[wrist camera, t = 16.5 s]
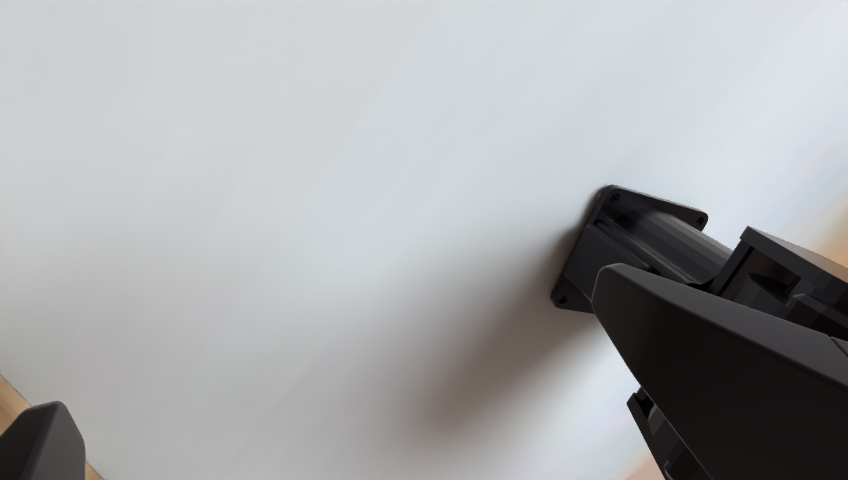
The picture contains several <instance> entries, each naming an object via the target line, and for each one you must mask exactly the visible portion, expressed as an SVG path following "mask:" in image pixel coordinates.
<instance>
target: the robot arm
mask: <svg viewBox="0 0 848 480" xmlns="http://www.w3.org/2000/svg"><path fill="white" fill-rule="evenodd" d="M613 194H615V196H614V197H613V199H611V196H612V195H613ZM610 199H611V200H610ZM707 221H708V215H707V214H706V213H704V212H703V211H701V210H699V209H696V208H692V207H689V206H685V205H682V204H678V203H675V202H672V201H668V200H665V199H661V198H658V197H654V196H651V195H648V194H644V193H641V192H637V191H634V190H630V189H627V188H624V187H620V186H617V185H610V186H607V187H606V188H605V189H604V190H603V191H602V193H601V195H600V197H599V199H598V201H597V203H596V205H595V207H594V209H593V211H592V213H591V215H590V217H589V219H588V221H587V223H586V225H585V227H584V229H583V231H582V233H581V235H580V237H579V239H578V241H577V243H576V245H575V247H574V249H573V251H572V253H571V255H570V257H569V259H568V261H567V263H566V265H565V267H564V269H563V271H562V273H561V275H560V277H559V279H558V281H557V283H556V285H555V287H554V289H553V291H552V293H551V296H550V300H551V302H552V303H553V304H554V305H555V306H556V307H557V308H561V309H567V310H573V311H580V312H586V313H592V314H595V315H596V316H597V318H598V320H599V321H600V323H601V325H602V326H603V328H604V329H605V331H606V333H607V334H608V336H609V337H610V339H611V341H612V342H613V344H614V346H615V347H616V349H617V350H618V352H619V354H620V355H621V357H622V358H623V360H624V362H625V363H626V365H627V366H628V368H629V370H630V371H631V373H632V374H633V376H634V377H635V378H636V380H637V381H638V383H639V384H640V385H641V387H640V388H639V389H638V391H637V392H636V393H633V394H632V396H631V397H630V398H629V400H628V401H627V406H628V408H629V410H630V412H631V414H632V416H633V418H634V420H635V422H636V424H637V425H638V427H639V429H640V431H641V433H642V435H643V437H644V439H645V441H646V443H647V445H648V447H649V449H650V451H651V453H652V455H653V457H654V459H655V461H656V463H657V465H658V466H659V469H660V470H661V472H662V474H663V476H664V478H665V480H848V268H846V267H844V266H842V265H840V264H838V263H836V262H834V261H832V260H830V259H827V258H825V257H823V256H821V255H819V254H817V253H815V252H812V251H810V250H807V249H805V248H802V247H800V246H797V245H795V244H792V243H790V242H787V241H785V240H782V239H780V238H777V237H775V236H772V235H770V234H767V233H765V232H762V231H760V230H757V229H755V228H752V227H750V226H747V228H746V229H745V230H744V232H743V233H742V235H741V236H740V239H741V241H740V242H739V244H738V245H737V247H736V248H735V250H734V251H733V250H731V249H729V248H728V247H726V246H724V245H723V244H721V243H719V242H718V241H716V240H714V239H713V238H711V237H709V236H707V235H706V234H704V233H702V230H703V229H704V227H705V225H706V223H707ZM562 296H563V297H562ZM560 297H562V298H561V299H560ZM0 480H85V445H84V441H83V438H82V435H81V434H80V432H79V430H78V428H77V426H76V424H75V422H74V420H73V418H72V417H71V415H70V413H69V411H68V409H67V407H66V406H65V405H64V404H63V403H62V402H60V401H53V402H49V403H45V404H41V405H37V406H33V407H29V408H27V409H25V410H24V411H22V412H21V413H20V414H19V415H18V416H17V417H16V419H15V420H14V421H13V422H12V423H11V424H10V425H9V426H8V427H7V429H6V430H5V431H4V432H3V433H2V434H1V435H0Z"/></svg>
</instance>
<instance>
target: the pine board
mask: <svg viewBox="0 0 848 480" xmlns="http://www.w3.org/2000/svg"><path fill="white" fill-rule="evenodd" d="M29 407H31V406H30V405H29V404H28V403H27V402H26V401H25V400H24V399H23V398H22V397H21V396H20V395H19V394H18V393H17V392H16V391H15V390H14V389H13V388H12V387H11V386H10V385H9V384H8V383H7V382H6V381H5V380H4V378H3V377H2V376H1V375H0V435H1V434H2V433H3V432H4V431H5V430H6V429H7V427H8V426H9V425H10V424H11V423H12V422H13V421H14V420H15V419H16V417H17V416H18V415H19V414H20V413H21V412H22V411H24V410H25V409H27V408H29ZM85 480H103V479H102V478H101V477H100V476H99V475H98V474H97V473H96V472H95V470H94V469H93V468H92V467H91V466H90V465H89V464H88V463H87V462H86V461H85Z"/></svg>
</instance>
